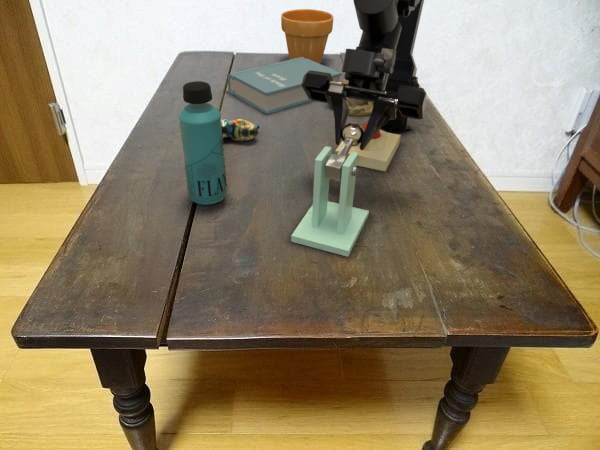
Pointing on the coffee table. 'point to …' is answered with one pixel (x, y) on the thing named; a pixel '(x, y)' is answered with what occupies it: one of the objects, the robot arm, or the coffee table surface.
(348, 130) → the lever
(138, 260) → the coffee table surface
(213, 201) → the beverage bottle
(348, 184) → the bracket
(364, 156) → the button block
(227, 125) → the figurine
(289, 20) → the flower pot
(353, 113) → the ceramic model
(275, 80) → the book
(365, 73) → the robot arm
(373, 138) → the button
